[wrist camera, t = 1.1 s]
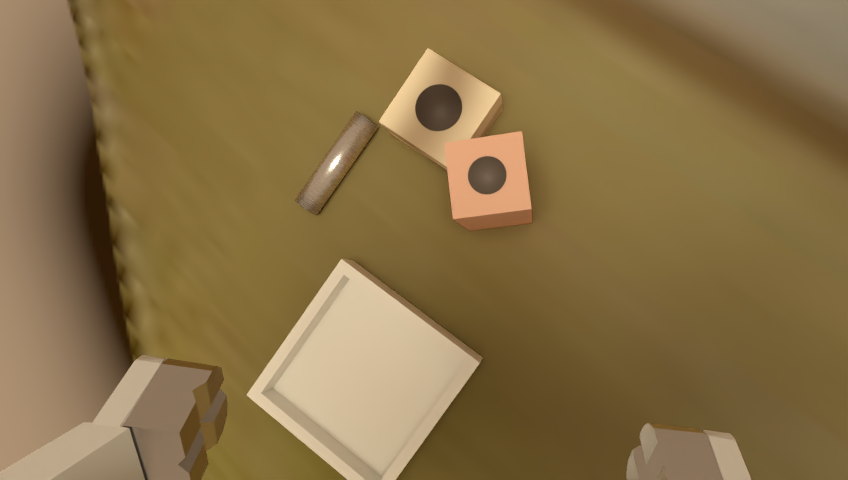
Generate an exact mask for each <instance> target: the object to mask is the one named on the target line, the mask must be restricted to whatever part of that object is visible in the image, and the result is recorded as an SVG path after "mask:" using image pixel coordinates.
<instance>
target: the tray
mask: <svg viewBox="0 0 848 480" xmlns="http://www.w3.org/2000/svg"><path fill="white" fill-rule="evenodd" d="M482 359H483V357H481V356H480V355H479V354H477V353H476V352H475V351H473V350H472V349H471V348H469V347H468V346H467V345H465V344H464V343H463V342H461V341H460V340H459V339H457V338H456V337H455V336H453V335H452V334H451V333H449V332H448V331H447V330H445V329H444V328H443V327H441V326H440V325H439V324H437V323H436V322H435V321H433V320H432V319H431V318H429V317H428V316H427V315H425V314H424V313H423V312H421V311H420V310H419V309H417V308H416V307H415V306H413V305H412V304H411V303H409V302H408V301H407V300H405V299H404V298H403V297H401V296H400V295H399V294H397V293H396V292H395V291H393V290H392V289H391V288H389V287H388V286H387V285H385V284H384V283H383V282H381V281H380V280H379V279H377V278H376V277H375V276H373V275H372V274H371V273H369V272H368V271H367V270H365V269H364V268H363V267H361V266H360V265H359V264H357V263H356V262H355V261H353V260H348V259H341V260H340V262H339V263H338V265H337V266H336V268H335V269H334V270H333V272H332V273H331V275H330V276H329V278H328V279H327V280H326V282H325V283H324V285H323V286H322V288H321V289H320V290H319V292H318V293H317V295H316V296H315V298H314V299H313V300H312V302H311V303H310V305H309V306H308V308H307V309H306V310H305V312H304V313H303V315H302V316H301V318H300V319H299V321H298V322H297V323H296V325H295V326H294V328H293V329H292V331H291V332H290V333H289V335H288V336H287V338H286V339H285V341H284V342H283V343H282V345H281V346H280V348H279V349H278V351H277V352H276V353H275V355H274V356H273V358H272V359H271V361H270V362H269V364H268V365H267V366H266V368H265V369H264V371H263V372H262V374H261V375H260V376H259V378H258V379H257V381H256V382H255V384H254V385H253V386H252V388H251V389H250V391H249V392H248V394H247V396H248V397H249V398H251V399H252V400H253V401H254V402H255V403H257V404H258V405H259V406H260V407H261V408H263V409H264V410H265V411H266V412H267V413H268V414H270V415H271V416H272V417H273V418H274V419H276V420H277V421H278V422H279V423H280V424H282V425H283V426H284V427H285V428H286V429H288V430H289V431H290V432H291V433H292V434H294V435H295V436H296V437H297V438H298V439H300V440H301V441H302V442H303V443H304V444H306V445H307V446H308V447H309V448H310V449H312V450H313V451H314V452H315V453H316V454H318V455H319V456H320V457H321V458H322V459H323V460H325V461H326V462H327V463H328V464H329V465H331V466H332V467H333V468H334V469H335V470H337V471H338V472H339V473H340V474H341V475H343V476H344V477H345V478H346V479H347V480H396V479H397V477H398V476H399V474H400V473H401V472H402V470H403V469H404V468H405V466H406V465H407V463H408V462H409V461H410V459H411V458H412V456H413V455H414V454H415V452H416V451H417V450H418V448H419V447H420V445H421V444H422V443H423V441H424V440H425V438H426V437H427V436H428V434H429V433H430V432H431V430H432V429H433V427H434V426H435V425H436V423H437V422H438V420H439V419H440V418H441V416H442V415H443V414H444V412H445V411H446V409H447V408H448V407H449V405H450V404H451V402H452V401H453V400H454V398H455V397H456V396H457V394H458V393H459V391H460V390H461V389H462V387H463V386H464V384H465V383H466V382H467V380H468V379H469V378H470V376H471V375H472V373H473V372H474V371H475V369H476V368H477V366H478V365H479V364H480V362H481V361H482Z"/></svg>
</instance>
